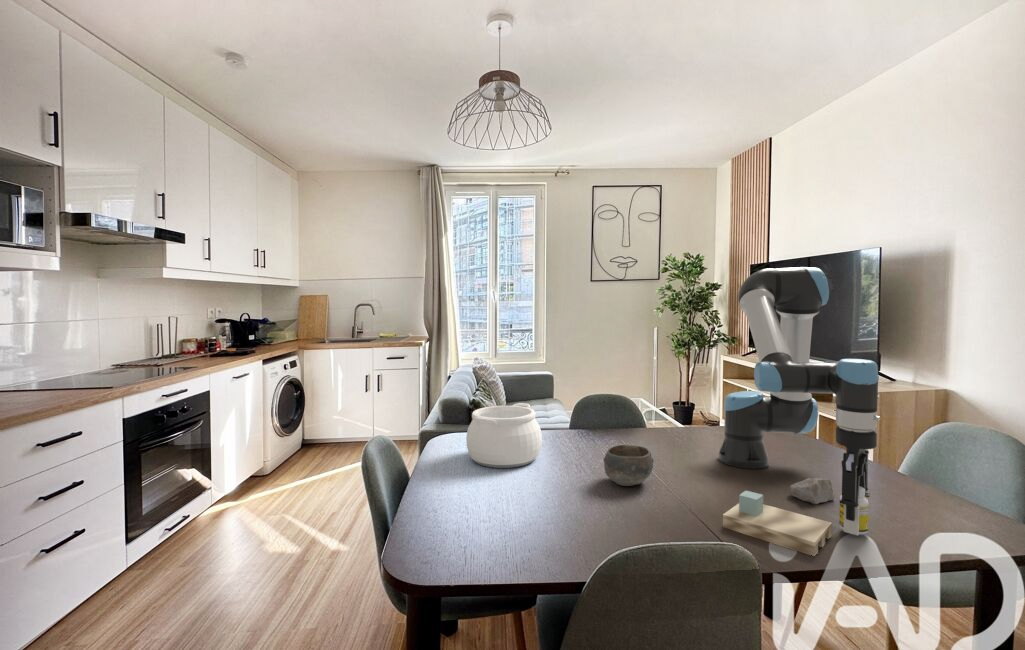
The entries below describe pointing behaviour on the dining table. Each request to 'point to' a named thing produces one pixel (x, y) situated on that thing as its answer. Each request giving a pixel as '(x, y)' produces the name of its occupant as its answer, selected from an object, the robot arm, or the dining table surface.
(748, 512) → the pale blue cube
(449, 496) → the dining table surface
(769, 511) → the pallet
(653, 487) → the dining table surface
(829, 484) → the stone
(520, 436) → the pot
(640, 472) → the bowl
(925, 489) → the dining table surface
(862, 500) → the supplement bottle
